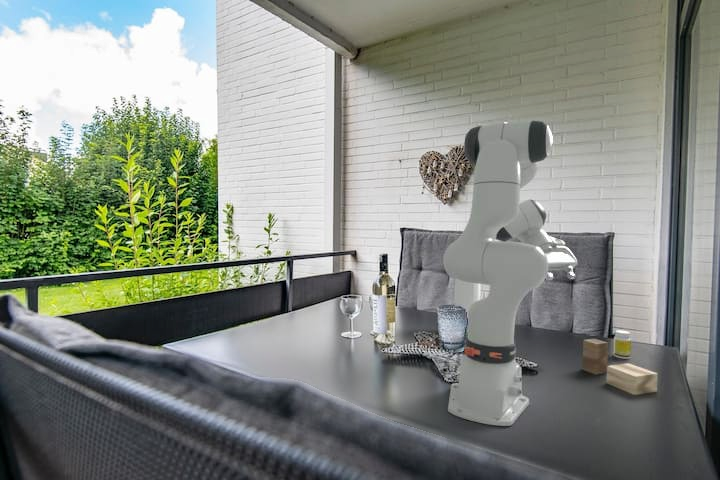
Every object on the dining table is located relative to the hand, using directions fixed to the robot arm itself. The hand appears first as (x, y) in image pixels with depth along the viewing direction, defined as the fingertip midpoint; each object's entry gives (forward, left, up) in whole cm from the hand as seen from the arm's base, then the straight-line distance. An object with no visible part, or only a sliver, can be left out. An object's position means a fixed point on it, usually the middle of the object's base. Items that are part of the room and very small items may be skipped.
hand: (561, 278), depth 129 cm
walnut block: (-8, -10, -26) cm, 29 cm away
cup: (+16, +33, -26) cm, 46 cm away
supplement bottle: (+12, -19, -26) cm, 34 cm away
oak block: (-17, -18, -26) cm, 36 cm away
